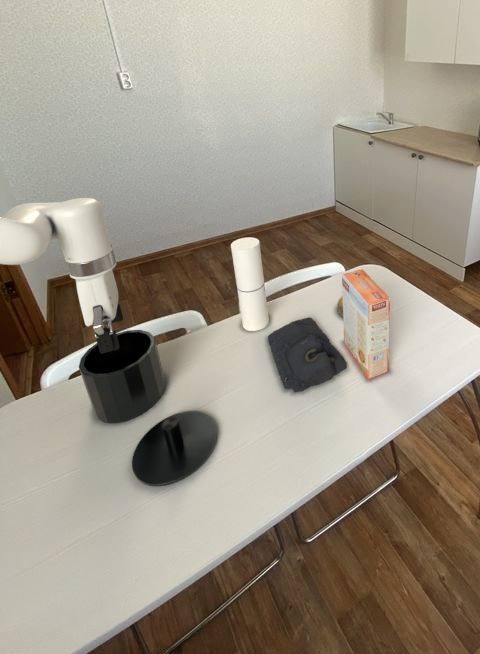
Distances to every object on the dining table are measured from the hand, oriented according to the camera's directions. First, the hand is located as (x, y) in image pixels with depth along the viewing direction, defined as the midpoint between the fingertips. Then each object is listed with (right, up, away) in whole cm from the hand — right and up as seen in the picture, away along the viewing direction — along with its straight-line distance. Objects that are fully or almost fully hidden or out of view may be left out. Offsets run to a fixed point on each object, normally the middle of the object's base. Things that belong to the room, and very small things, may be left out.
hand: (112, 335), depth 79 cm
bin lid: (+16, -19, -6) cm, 26 cm away
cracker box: (+52, -11, +16) cm, 56 cm away
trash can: (0, -16, +6) cm, 17 cm away
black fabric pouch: (+37, -11, +17) cm, 43 cm away
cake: (+49, -5, +34) cm, 60 cm away
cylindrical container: (+22, -7, +29) cm, 37 cm away
